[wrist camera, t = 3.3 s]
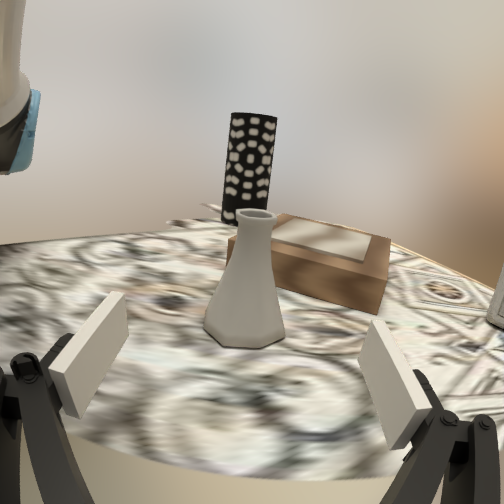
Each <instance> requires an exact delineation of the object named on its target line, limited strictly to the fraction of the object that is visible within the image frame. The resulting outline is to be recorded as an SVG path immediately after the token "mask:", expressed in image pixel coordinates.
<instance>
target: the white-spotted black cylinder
mask: <svg viewBox="0 0 504 504" xmlns="http://www.w3.org/2000/svg"><path fill="white" fill-rule="evenodd" d="M276 126H277V117H273V116H269V115H262V114H254V113H236V112H235V113H231V121H230V130H229V140H228V149H227V159H226V170H225V180H224V191H223V201H222V213H221V220H222V221H223V222H224V223H226V224H229V225H233V226H238V221H237V220H236V209H248V208H250V209H261V210H266V209H267V200H268V193H269V184H270V176H271V168H272V160H273V151H274V142H275V134H276Z"/></svg>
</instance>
